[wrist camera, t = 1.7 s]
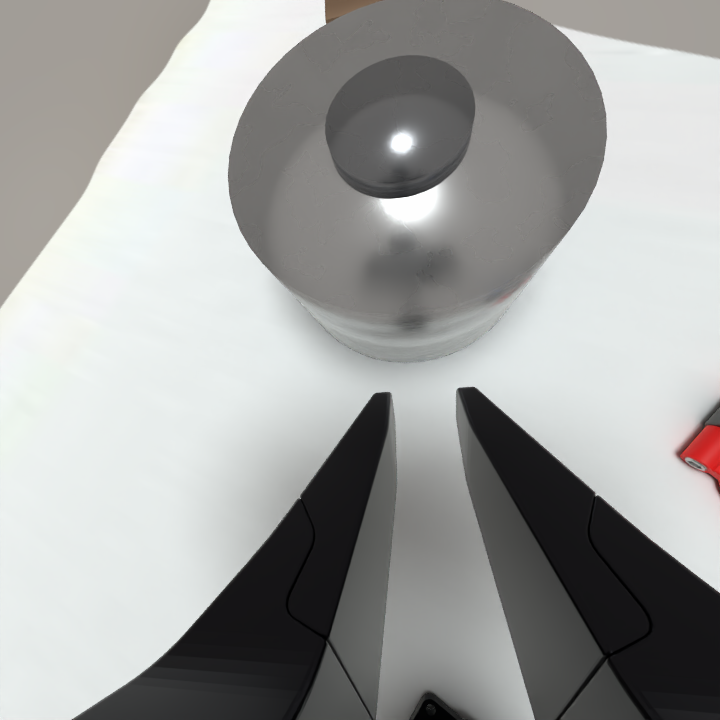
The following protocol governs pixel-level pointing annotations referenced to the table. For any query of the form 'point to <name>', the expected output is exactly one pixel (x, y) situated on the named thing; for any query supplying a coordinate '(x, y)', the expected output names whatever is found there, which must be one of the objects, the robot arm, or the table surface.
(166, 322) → the table surface
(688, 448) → the tow hook
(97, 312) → the table surface
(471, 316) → the cylinder
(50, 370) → the table surface
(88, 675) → the table surface
